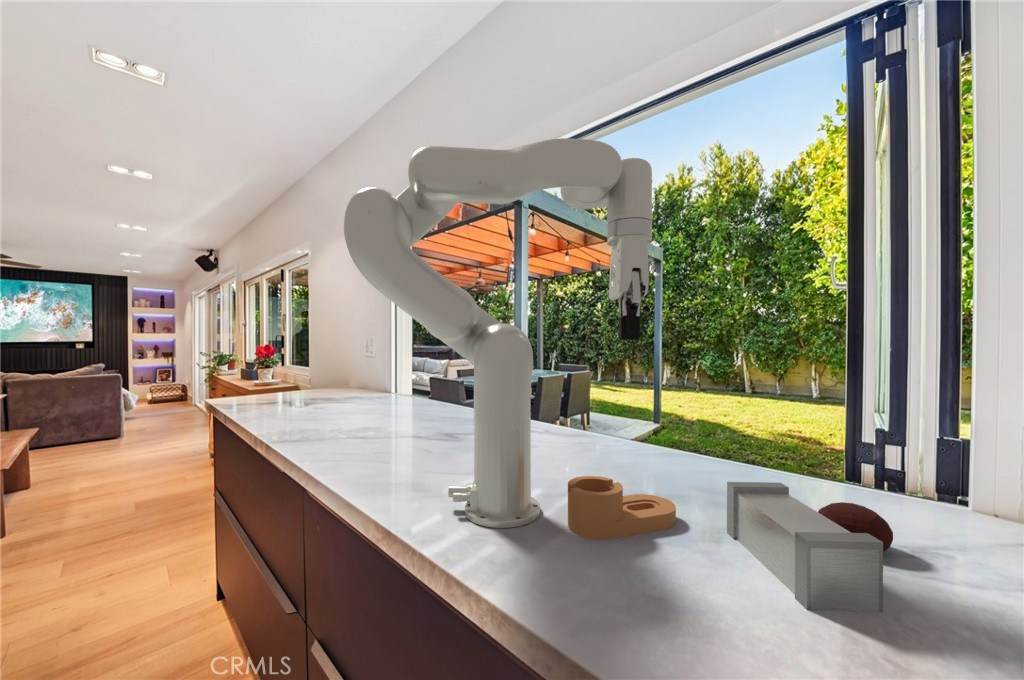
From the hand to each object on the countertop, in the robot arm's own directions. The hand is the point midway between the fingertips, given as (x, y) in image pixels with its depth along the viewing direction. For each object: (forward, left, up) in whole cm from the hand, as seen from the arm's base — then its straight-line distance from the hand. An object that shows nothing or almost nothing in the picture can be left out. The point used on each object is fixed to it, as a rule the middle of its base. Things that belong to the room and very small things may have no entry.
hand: (629, 339), depth 73 cm
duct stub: (+16, -19, -29) cm, 38 cm away
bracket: (-3, -7, -30) cm, 31 cm away
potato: (+28, -13, -29) cm, 43 cm away
